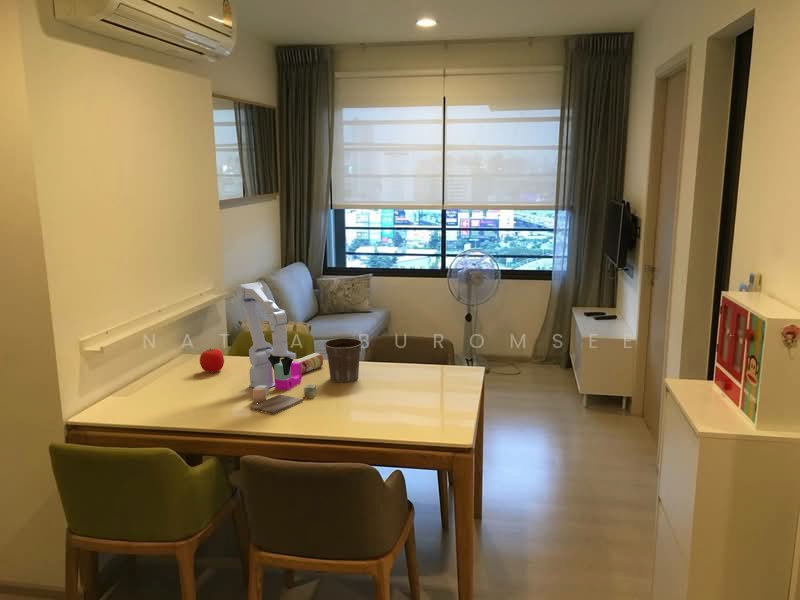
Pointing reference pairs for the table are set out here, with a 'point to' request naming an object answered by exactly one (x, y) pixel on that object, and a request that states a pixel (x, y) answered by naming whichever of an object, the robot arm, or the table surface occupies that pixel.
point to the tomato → (212, 360)
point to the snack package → (310, 362)
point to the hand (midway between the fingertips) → (281, 373)
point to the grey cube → (264, 387)
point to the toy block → (291, 381)
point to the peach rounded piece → (259, 394)
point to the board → (276, 404)
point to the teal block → (281, 372)
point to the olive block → (310, 390)
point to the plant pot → (343, 358)
